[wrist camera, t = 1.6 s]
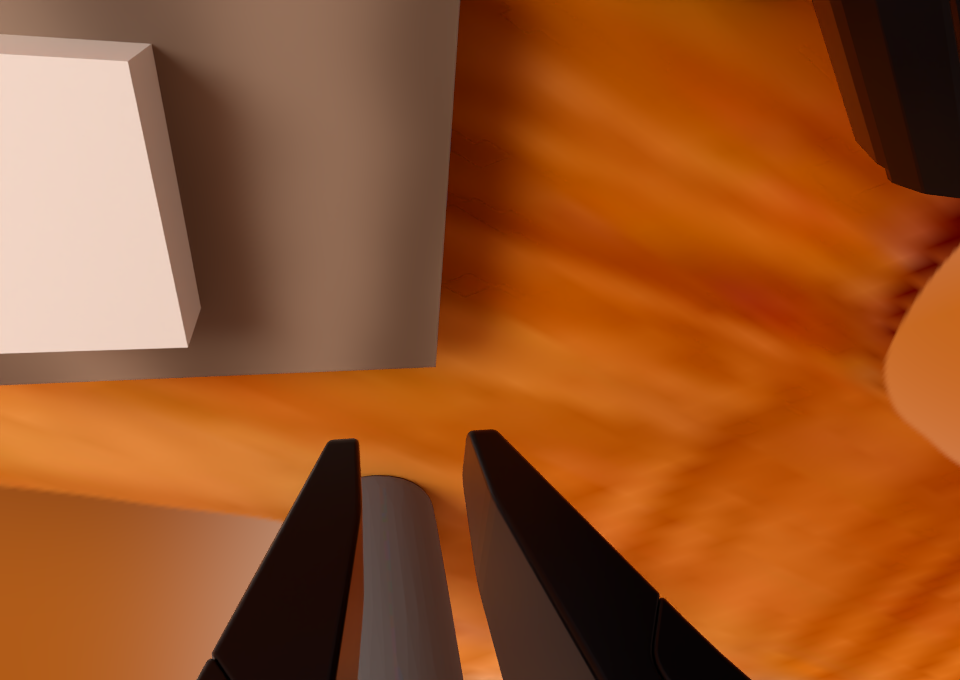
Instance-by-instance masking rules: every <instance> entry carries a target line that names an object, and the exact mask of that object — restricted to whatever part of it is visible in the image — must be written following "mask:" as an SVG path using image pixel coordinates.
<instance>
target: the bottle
mask: <svg viewBox="0 0 960 680" xmlns="http://www.w3.org/2000/svg"><path fill="white" fill-rule="evenodd" d="M361 486H362V515H363V564H364V605H363V620H362V632H361V645H360V657H359V669H358V680H463V675H462V669H461V663H460V657H459V651H458V645H457V640H456V634H455V628H454V622H453V616H452V610H451V604H450V598H449V592H448V587H447V581H446V575H445V569H444V564H443V558H442V552H441V547H440V541H439V535H438V529H437V524H436V519H435V514H434V509H433V505H432V503H431V500H430V498H429V497H428V495H427V494H426V493H425V492H424V490H422V489H421V488H420V487H419V486H417V485H415V484H414V483H412V482H410V481H407V480H404V479H402V478H397V477H392V476H367V477H361Z"/></svg>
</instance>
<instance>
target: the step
mask: <svg viewBox="0 0 960 680" xmlns="http://www.w3.org/2000/svg"><path fill="white" fill-rule="evenodd" d="M459 10H460V0H0V34H7V35H22V36H38V37H53V38H68V39H84V40H99V41H115V42H130V43H146V44H152V50H153V55H154V60H155V66H156V71H157V76H158V82H159V87H160V92H161V98H162V103H163V108H164V114H165V119H166V124H167V130H168V135H169V140H170V145H171V151H172V156H173V161H174V167H175V172H176V177H177V183H178V188H179V193H180V199H181V204H182V209H183V215H184V220H185V225H186V231H187V236H188V241H189V247H190V252H191V257H192V263H193V268H194V273H195V279H196V284H197V289H198V295H199V300H200V305H201V309H200V313H199V316H198V319H197V322H196V325H195V328H194V331H193V334H192V337H191V340H190V343H189V346H188V348H158V349H127V350H96V351H66V352H35V353H4V354H0V385H17V384H41V383H65V382H88V381H112V380H136V379H160V378H183V377H207V376H231V375H254V374H278V373H302V372H326V371H349V370H373V369H397V368H420V367H436V354H437V339H438V324H439V309H440V294H441V279H442V264H443V249H444V234H445V219H446V204H447V189H448V174H449V159H450V144H451V130H452V115H453V100H454V85H455V70H456V55H457V40H458V25H459Z"/></svg>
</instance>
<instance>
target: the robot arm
mask: <svg viewBox="0 0 960 680" xmlns="http://www.w3.org/2000/svg"><path fill="white" fill-rule="evenodd" d="M812 2H813V5H814V8H815V12H816V15H817V18H818V21H819V24H820V28H821V31H822V34H823V37H824V41H825V44H826V47H827V50H828V53H829V57H830V60H831V63H832V66H833V70H834V73H835V76H836V79H837V82H838V86H839V89H840V92H841V95H842V98H843V102H844V105H845V108H846V111H847V115H848V118H849V121H850V124H851V127H852V131H853V134H854V137H855V140H856V142H857V143H858V144H859V145H860V146H861V147H862V148H863V149H864V150H865V151H866V152H867V153H868V154H869V156H870V157H871V158H872V159H873V160H874V161H875V162H876V163H877V164H879V165H880V166H882V167H884V168H885V170H886V173H887V177H888V179H889V180H890V181H891V182H892V183H894V184H897V185H900V186H903V187H906V188H909V189H912V190H915V191H918V192H920V193H924V194H930V195H938V196H946V197H954V198H960V0H812ZM463 487H464V495H465V502H466V509H467V515H468V522H469V529H470V536H471V543H472V550H473V557H474V564H475V570H476V576H477V582H478V586H479V591H480V595H481V599H482V603H483V606H484V610H485V614H486V618H487V621H488V625H489V629H490V633H491V636H492V640H493V644H494V647H495V651H496V655H497V659H498V662H499V666H500V670H501V674H502V677H503V680H751V679H750V678H749V677H748V676H746V675H745V674H744V673H743V672H742V671H741V670H740V669H738V668H737V667H736V666H735V665H734V664H733V663H732V662H730V661H729V660H728V659H727V658H726V657H725V656H724V655H722V654H721V653H720V652H719V651H718V650H717V649H716V648H715V647H714V646H713V645H712V644H711V643H710V642H709V641H708V640H707V639H706V638H704V637H703V636H702V635H701V634H700V633H699V632H698V631H697V630H696V629H695V628H694V627H693V626H692V625H691V624H690V623H689V622H688V621H687V620H686V619H685V618H684V617H683V616H682V615H681V614H680V613H679V612H678V611H677V610H676V609H675V608H674V607H673V606H672V605H671V604H670V603H669V602H668V601H667V600H666V599H665V598H660V599H659V597H660V595H659V593H658V592H657V591H656V590H655V589H654V588H653V587H652V586H651V585H650V584H649V583H648V582H647V581H646V580H645V579H644V578H643V577H642V576H641V575H640V574H639V573H638V572H637V571H636V570H635V569H634V568H633V567H632V566H631V565H630V564H629V563H628V562H627V561H626V560H625V559H624V558H623V557H622V556H621V555H620V554H619V552H618V551H617V550H616V549H615V548H614V547H613V546H612V545H611V544H610V543H609V542H608V541H607V540H606V539H605V538H604V537H603V536H602V535H601V534H600V533H599V532H598V531H597V530H596V529H595V528H594V527H593V526H592V525H591V524H590V523H589V522H588V521H587V520H586V519H585V518H584V517H583V516H582V515H581V514H580V513H579V512H578V511H577V510H576V509H575V508H574V507H573V506H572V505H571V504H570V503H569V502H568V501H567V500H566V499H565V498H564V497H563V496H562V495H561V494H560V493H559V492H558V491H557V490H556V489H555V488H554V487H553V486H552V485H551V484H550V483H549V482H548V481H547V480H546V479H545V478H544V477H543V476H542V475H541V474H540V473H539V472H538V471H537V470H536V469H535V468H534V467H533V466H532V465H531V464H530V463H529V462H528V461H527V460H526V459H525V458H524V457H523V456H522V455H521V454H520V453H519V452H518V451H517V450H516V449H515V448H514V447H513V446H512V445H511V444H510V443H509V442H508V441H507V440H506V439H505V438H504V437H503V436H502V435H501V434H500V433H499V432H498V431H496V430H493V429H489V430H473V431H470V432H469V433H468V435H467V438H466V446H465V455H464V464H463ZM363 605H364V564H363V515H362V486H361V468H360V451H359V442H358V440H357V439H354V438H352V439H338V440H331V441H329V442H328V443H327V444H326V446H325V448H324V449H323V451H322V453H321V455H320V457H319V459H318V460H317V462H316V464H315V466H314V468H313V469H312V471H311V473H310V475H309V477H308V479H307V480H306V482H305V484H304V486H303V488H302V490H301V491H300V493H299V495H298V497H297V499H296V500H295V502H294V504H293V506H292V508H291V510H290V511H289V513H288V515H287V517H286V519H285V520H284V522H283V524H282V526H281V528H280V530H279V532H278V533H277V535H276V537H275V539H274V541H273V542H272V544H271V546H270V548H269V550H268V552H267V553H266V555H265V557H264V559H263V561H262V563H261V564H260V566H259V568H258V570H257V572H256V573H255V575H254V577H253V579H252V581H251V583H250V584H249V586H248V588H247V590H246V592H245V593H244V595H243V597H242V599H241V601H240V602H239V604H238V606H237V608H236V610H235V612H234V614H233V615H232V617H231V619H230V621H229V623H228V625H227V626H226V628H225V630H224V632H223V633H222V635H221V637H220V639H219V641H218V643H217V645H216V646H215V648H214V650H213V652H212V658H213V659H209V660H208V661H207V662H206V664H205V666H204V667H203V669H202V671H201V673H200V675H199V677H198V679H197V680H358V669H359V657H360V645H361V632H362V620H363Z"/></svg>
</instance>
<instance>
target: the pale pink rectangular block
mask: <svg viewBox="0 0 960 680" xmlns="http://www.w3.org/2000/svg"><path fill="white" fill-rule="evenodd" d="M200 309H201V305H200V300H199V295H198V289H197V284H196V279H195V273H194V268H193V263H192V257H191V252H190V247H189V241H188V236H187V231H186V225H185V220H184V215H183V209H182V204H181V199H180V193H179V188H178V183H177V177H176V172H175V167H174V161H173V156H172V151H171V145H170V140H169V135H168V130H167V124H166V119H165V114H164V108H163V103H162V98H161V92H160V87H159V82H158V76H157V71H156V66H155V60H154V55H153V50H152V44H146V43H130V42H115V41H99V40H84V39H68V38H53V37H38V36H22V35H7V34H0V354H4V353H35V352H66V351H96V350H127V349H158V348H188V346H189V343H190V340H191V337H192V334H193V331H194V328H195V325H196V322H197V319H198V316H199V313H200Z"/></svg>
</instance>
